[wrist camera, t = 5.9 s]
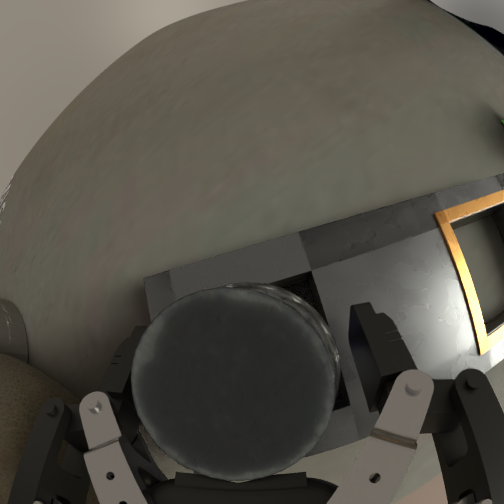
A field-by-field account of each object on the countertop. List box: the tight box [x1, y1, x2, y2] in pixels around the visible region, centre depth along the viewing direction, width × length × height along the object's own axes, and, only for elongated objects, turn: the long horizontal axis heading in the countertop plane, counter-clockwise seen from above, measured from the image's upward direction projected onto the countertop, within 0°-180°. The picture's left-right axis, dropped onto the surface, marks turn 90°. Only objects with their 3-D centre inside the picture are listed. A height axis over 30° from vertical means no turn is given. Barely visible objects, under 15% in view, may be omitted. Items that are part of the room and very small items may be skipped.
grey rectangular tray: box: [144, 173, 504, 474], centre depth 14 cm, size 28×12×3 cm, turn 105°
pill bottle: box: [131, 282, 341, 481], centre depth 11 cm, size 6×6×11 cm
